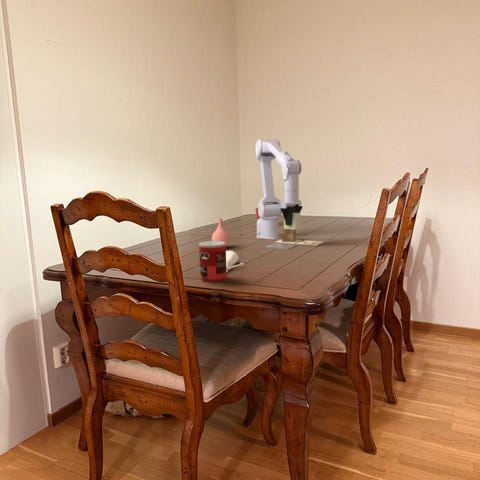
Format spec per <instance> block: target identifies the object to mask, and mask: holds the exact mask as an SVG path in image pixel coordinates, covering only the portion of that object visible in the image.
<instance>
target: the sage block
mask: <svg viewBox="0 0 480 480" xmlns="http://www.w3.org/2000/svg"><path fill="white" fill-rule="evenodd" d="M283 227H284V229H296V230H298V229H301V212H300V213H293V216H292V224H291V225H286V224H285V220H284V219H283Z"/></svg>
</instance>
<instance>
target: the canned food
mask: <svg viewBox="0 0 480 480" xmlns="http://www.w3.org/2000/svg"><path fill="white" fill-rule="evenodd" d="M226 251H227V246H226V243H225V242H222V241H212V240H207V241H206V240H205V241H201V242H199V243H198V257H199V260H198V261H199V277H200V280H201V281H203V282H207V283H216V282H222V281H226V279H227V273H228V272H227V270H226Z"/></svg>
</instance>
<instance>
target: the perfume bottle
mask: <svg viewBox="0 0 480 480" xmlns="http://www.w3.org/2000/svg"><path fill="white" fill-rule="evenodd" d="M211 241H222V242H225V243H226V247H229V246H230V242H231V235H230V233H229V231H228V230H226V229H225V227H224V225H223V218H218V225H217V228H216V230H215V231H214V232H213V234H212V236H211Z"/></svg>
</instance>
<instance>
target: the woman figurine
mask: <svg viewBox="0 0 480 480" xmlns="http://www.w3.org/2000/svg"><path fill="white" fill-rule="evenodd" d="M238 260H239V256H238V253H237V252H235V251H233V250H226V270H227V273H228V272H229V270H231V269H233V268H237V267H241V266H244V265H245V262H240V264H236V263H237V262H238Z"/></svg>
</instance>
